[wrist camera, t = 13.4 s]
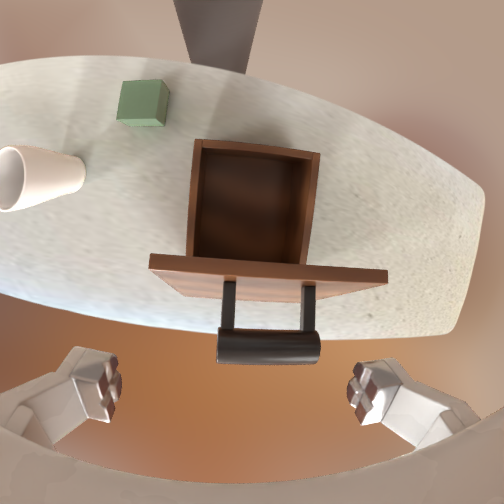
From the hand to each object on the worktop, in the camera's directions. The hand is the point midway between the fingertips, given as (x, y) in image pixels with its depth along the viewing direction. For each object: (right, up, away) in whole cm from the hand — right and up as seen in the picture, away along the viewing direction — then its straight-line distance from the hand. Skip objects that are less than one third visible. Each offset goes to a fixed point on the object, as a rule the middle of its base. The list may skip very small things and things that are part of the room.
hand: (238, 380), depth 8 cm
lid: (+1, +2, +13) cm, 13 cm away
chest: (-1, +9, +28) cm, 30 cm away
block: (-13, +23, +23) cm, 35 cm away
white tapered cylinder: (-25, +15, +24) cm, 38 cm away
